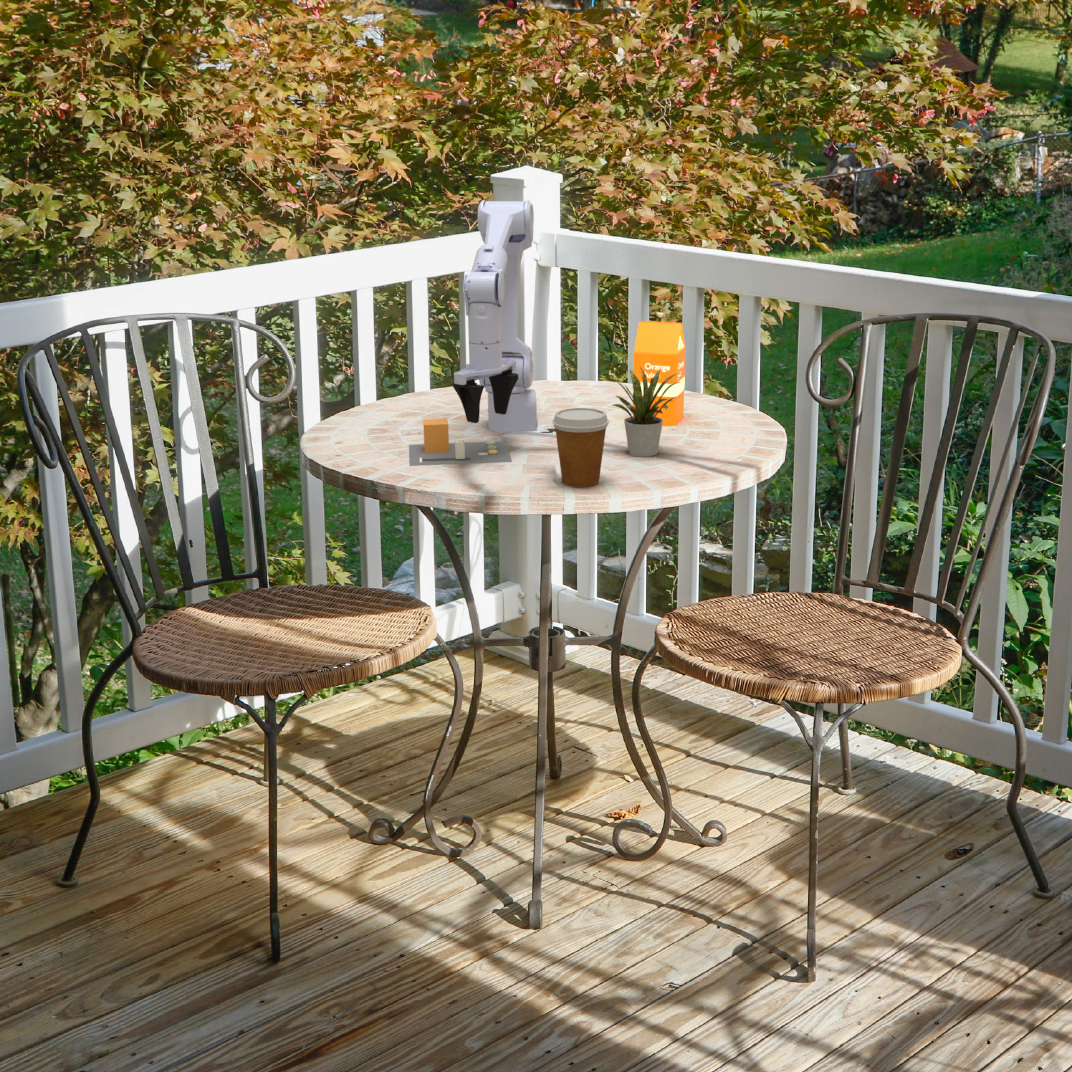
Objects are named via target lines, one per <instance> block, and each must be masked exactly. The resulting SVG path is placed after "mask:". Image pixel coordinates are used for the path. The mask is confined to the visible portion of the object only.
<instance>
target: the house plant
mask: <svg viewBox="0 0 1072 1072" xmlns="http://www.w3.org/2000/svg"><path fill="white" fill-rule="evenodd" d="M639 366H640V365H639ZM638 369H639V368H638ZM640 369H641V371H642V373H641V371H640V373H641V376H642V374H643V376H642V380H643V382H642V383H643V397H642V390H641V385H640V384H642V383H640V381H639V379H638V378H637V377H636V375H635V374H634V372H633V371H632V370H631V369H629V373H630V374H629V375H630V379H631V382H632V392H631V391H630V389H629V388H628V386H626V385H623V384H622V383H621V382H619V381H618V380H617V379H615V378H614V377H611V376H608V375H606V376H607V377H608V378H611V379H612V380H614V381H615V382H616V383H617V384H618V385H620V387H621V388H622V389H623V390H624V392H625V393H626V394H627V396H628V397H629V399H630V401H631V402H629V401H627V400H626V399H625V398H624V397H622V396H620V395H616V394H615V397H616V398H618V400H620V402H621V403H622V404H624V405H625V406H626V407H625V406H624V405H622V404H620V403H619V404H618V403H615V404H612V405H611V407H612V406H613V407H616V408H619V409H621V410H623V411H624V412H626V413H627V414H628V416H629V417H625V419H624V420H623V423H624V428H625V435H626V440H627V448H628V454H629V455H630V456H634V457H636V458H637V457H640V458H649V457H650V456H651V457H653V456H654V455H655V456H656V455H657V454H658V451H659V445H660V439H661V434H662V430H663V426H662V424H663V420H662V419H661V418H659V417H656V415H657V414H658V413H661V414H662V415H663V412H662V411H661V409H662V408H664V409H666V411H667V408H668V406H667V405H666V404H667V403H668V402H670V401H672V399H674V398H676V397H681V396H676V397H673V398H670V399H669V400H668V399H661V398H662V396H663V395H664V394H665V392H666V391H667V390H668V389H669V388H670V387H671V386H673V385H674V384H677V383H682V382H676V383H673V384H671V385H670V386H668V387H667V388H666V389H665V391H664V392H663V393H662V395H661V397H660V398H659V400H658V401H657V402H655V404H654V405H653V406H652V407H651V405H652V403H653V402H654V400H655V398H656V396H657V395H658V393H659V392H660V390H661V389H662V387H663V386H664V385H665V384H666V382H667V381H669V380H670V379H671V378H673V377H674V376H676V375H678V374H683V373H677V374H673V375H671V376H669V377H668V378H666V379H665V380H664V381H663V382H662V384H661V385H660V386H659V388H658V390H657V391H656V393H655V395H654V396H653V394H654V391H655V388H656V385H657V382H658V380H659V376H660V371H661V369H659V370H658V371H657V372H656V373H655V375H654V377H653V378H652V379H651V380H650V385H649V387H648V382H647V377H646V374H645V372H644V370H643V369H642V368H641V367H640ZM640 369H639V370H640ZM669 382H675V381H669ZM667 383H668V382H667ZM633 400H634V401H633ZM665 400H668V401H666V402H665V403H664V404H663V405H662V406H658V407H656V406H657V405H658V404H659V403H661V402H662V401H665ZM672 402H673V401H672ZM673 403H674V402H673ZM633 404H634V405H635V407H634V406H633ZM659 407H661V408H660V409H659V410H657V409H658V408H659ZM650 408H651V409H650ZM655 412H656V414H655ZM631 413H632V414H631ZM633 414H634V416H633ZM654 414H655V415H654Z"/></svg>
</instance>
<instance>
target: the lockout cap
mask: <svg viewBox="0 0 1072 1072" xmlns="http://www.w3.org/2000/svg"><path fill="white" fill-rule="evenodd" d="M422 423H423V444H424V449H425V453H440V452H449V443H450V442H449V441H450V440H449V439H450V438H449V420H448V418H443V417H442V418H424V419H422Z"/></svg>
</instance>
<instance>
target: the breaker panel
mask: <svg viewBox="0 0 1072 1072" xmlns="http://www.w3.org/2000/svg"><path fill="white" fill-rule="evenodd" d="M464 445H465V459H456V456H455V442H449V452H440V453H425V449H424V443H418V444H417V443H416V444H408V455H409V457H408V458H409V466H411V467H413V466H415V467H416V466H438V465H439V466H443V465H466V464H469V465H470V464H490V463H492V464H493V463H496V464H497V463H512V462H513V460H512V456H511V454H510V450H509V447H508V443H507V441H505V440H504V441H503V440H499V441H494V440H487V441H473V442H471V441H470V442H464Z"/></svg>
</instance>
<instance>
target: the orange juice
mask: <svg viewBox="0 0 1072 1072" xmlns="http://www.w3.org/2000/svg"><path fill="white" fill-rule="evenodd" d="M637 327H638V328H637V332H636V339H635V344H634V349H633V361H632V362H633V364H632V365H633V369H632V370H633V372H634V374H635V375H636V377H637V378H638V379H639V381H640V383H642V382H643V380H642V376H643V374H642V376H641V373H642V371H641V369H640V367H641V368H642V369H643V370H644V372H645V374H646V377H647V382H648V387H649V385H650V380H651V379H652V378H653V377H654V375H655V373H656V372H657V371H658V370H659V369H661V371H660V376H659V380H658V382H657V385H656V388H655V391H654V394H653V396H654V395H655V393H656V391H657V390H658V388H659V386H660V385H661V384H662V382H663V381H664V380H665V379H666V378H668V377H669V376H671V375H673V374H677V373H683V374H678V375H676V376H674V377H673V378H671V379H670V380H669V381H675V382H669V381H667V382H668V383H667V382H666V384H665V385H664V386H663V387H662V389H661V390H660V392H659V393H658V395H657V396H656V398H655V400H654V402H653V403H652V405H651V407H652V406H653V405H654V404H655V402H657V401H658V400H659V398H660V397H661V395H662V393H663V392H664V391H665V389H666V388H667V387H668V386H670V385H671V384H673V383H676V382H682V383H677V384H674V385H673V386H671V387H670V388H669V389H668V390H667V391H666V392H665V394H664V395H663V396H662V398H661V399H668V400H669V399H670V398H673V397H676V396H681V397H676V398H674V399H672V401H673V402H674V403H673V402H672V401H670V402H668V403H667V404H666V405H667V406H668V408H667V411H666V409H664V408H662V409H661V411H662V412H663V415H662V414H661V413H658V414H657V415H656V417H659V418H661V419H662V420H663V424H662V427H668V426H676V425H677V424H678V425H679V424H680V422H681V421H682V420H684V410H685V407H684V406H685V405H684V404H685V403H684V402H685V383H686V382H685V379H686V377H685V375H686V371H685V369H686V367H685V366H686V364H685V363H686V344H685V336H684V329H683V323H682V322H676V321H675V322H673V321H671V322H670V321H653V320H652V321H651V320H650V321H649V320H638V326H637ZM639 365H640V366H639ZM638 368H639V369H640V370H639V369H638ZM640 371H641V373H640ZM640 385H641V390H642V397H643V383H642V384H640ZM632 400H633V399H632ZM668 400H665V401H662V402H661V403H659V404H658V405H657V406H656V407H658V406H662V405H663V404H664V403H665V402H666V401H668ZM633 401H634V400H633ZM632 406H634V407H635V405H634V404H633V403H632ZM660 408H661V407H659V408H658V409H657V410H659V409H660ZM650 409H651V408H650ZM655 414H656V412H655ZM655 414H654V415H655ZM632 416H634V414H633V413H632ZM681 419H682V420H681ZM678 425H677V426H678ZM677 426H676V427H677Z"/></svg>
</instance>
